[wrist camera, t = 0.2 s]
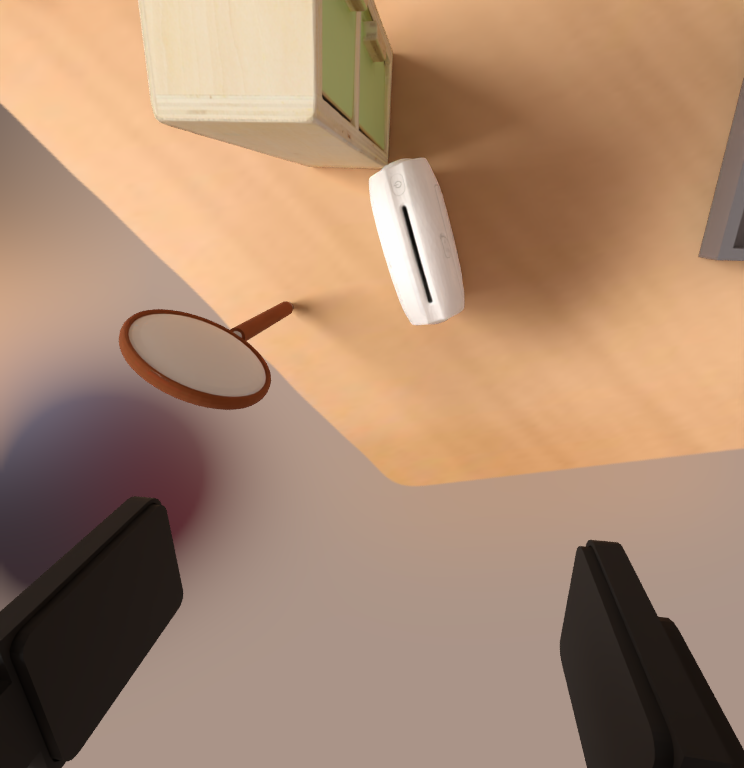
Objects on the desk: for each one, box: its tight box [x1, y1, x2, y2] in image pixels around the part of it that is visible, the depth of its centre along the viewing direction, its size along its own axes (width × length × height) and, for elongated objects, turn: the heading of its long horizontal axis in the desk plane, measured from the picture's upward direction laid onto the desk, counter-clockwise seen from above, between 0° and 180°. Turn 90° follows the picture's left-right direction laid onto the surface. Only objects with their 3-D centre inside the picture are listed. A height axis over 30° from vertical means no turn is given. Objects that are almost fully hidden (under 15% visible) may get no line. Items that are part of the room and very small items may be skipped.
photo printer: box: [369, 158, 465, 325], centre depth 31 cm, size 10×4×12 cm, turn 18°
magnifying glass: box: [119, 302, 293, 410], centre depth 32 cm, size 9×2×20 cm, turn 58°
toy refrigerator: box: [138, 0, 393, 169], centre depth 25 cm, size 8×7×21 cm
